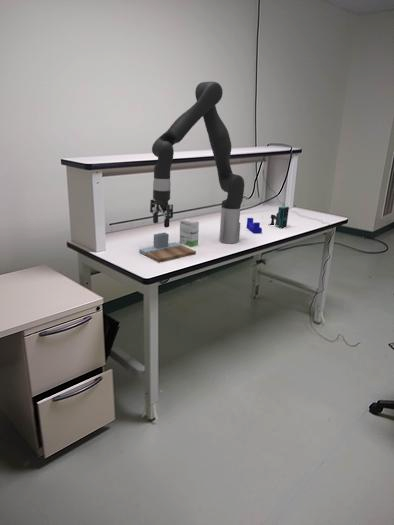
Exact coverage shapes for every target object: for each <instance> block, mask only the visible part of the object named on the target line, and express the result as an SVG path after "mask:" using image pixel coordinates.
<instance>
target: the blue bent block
mask: <svg viewBox="0 0 394 525" xmlns="http://www.w3.org/2000/svg"><path fill="white" fill-rule="evenodd" d="M246 220H247V221H246V229H247V230H248V231H250V232H251V233H252V234H253V235H254V234H255V235H256V234H257V235H259V234H262V233H263V228H262V227H261V226H260V225H261V224H260V223H261V222H254V218H253V217H247V218H246Z"/></svg>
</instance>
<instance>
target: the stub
mask: <svg viewBox="0 0 394 525" xmlns="http://www.w3.org/2000/svg"><path fill="white" fill-rule="evenodd" d="M169 237H170V236H169V233H167V232H160V233H159V232H158V233H155V234H153V246H149V247H143V248H139V249H138V251H139V252H138V253H140V254H142V255H144V256H146V253H147V252H152V251H157V250H162V249H166V248H171V247H176V246H181V245H182V244H181V243H180V242H176V241H174V242H170V243H169Z"/></svg>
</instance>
